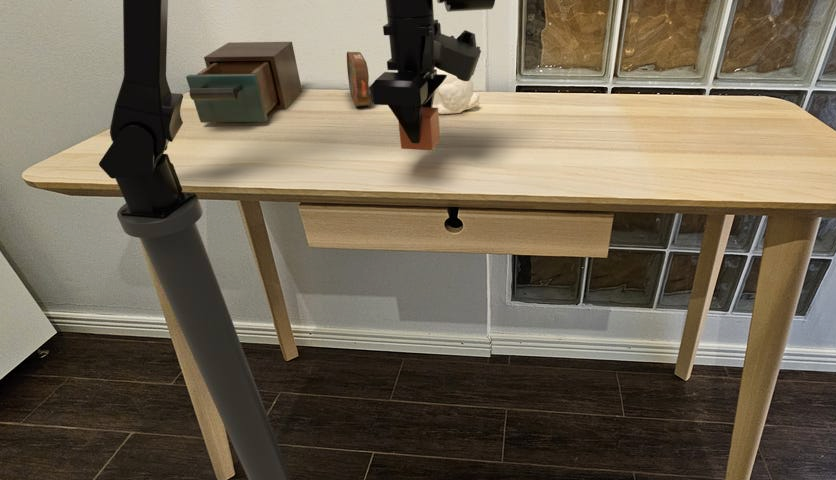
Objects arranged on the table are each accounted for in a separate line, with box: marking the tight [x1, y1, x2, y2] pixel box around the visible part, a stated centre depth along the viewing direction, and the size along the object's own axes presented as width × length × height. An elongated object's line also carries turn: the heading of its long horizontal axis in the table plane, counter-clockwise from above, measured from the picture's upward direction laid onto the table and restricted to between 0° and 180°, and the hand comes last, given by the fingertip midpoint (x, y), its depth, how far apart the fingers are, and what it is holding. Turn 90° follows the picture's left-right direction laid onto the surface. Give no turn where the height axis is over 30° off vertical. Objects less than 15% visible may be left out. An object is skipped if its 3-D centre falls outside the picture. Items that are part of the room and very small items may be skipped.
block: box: [397, 107, 441, 151], centre depth 74 cm, size 4×4×4 cm
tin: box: [346, 51, 371, 108], centre depth 103 cm, size 15×3×8 cm, turn 17°
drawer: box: [185, 61, 279, 123], centre depth 93 cm, size 15×11×8 cm
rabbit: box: [432, 67, 480, 115], centre depth 97 cm, size 12×9×12 cm
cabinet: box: [203, 41, 303, 111], centre depth 103 cm, size 12×13×10 cm
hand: (420, 136), depth 75 cm, fingers closed on block, 4 cm apart
